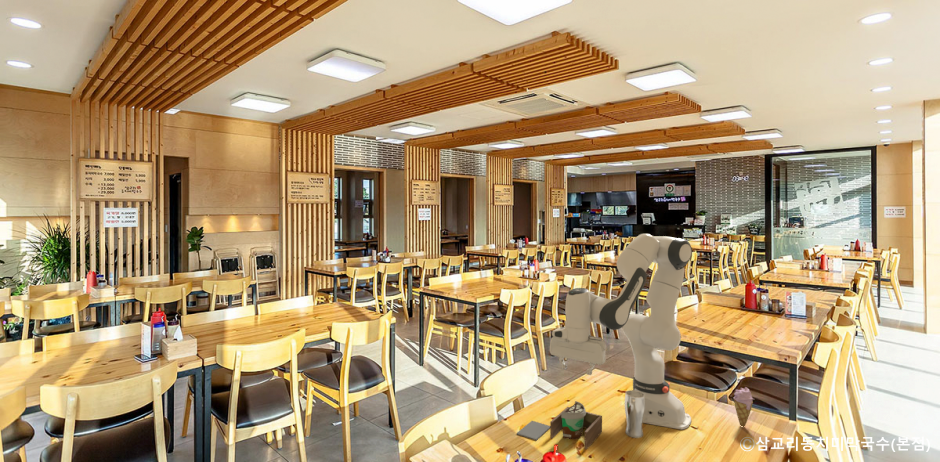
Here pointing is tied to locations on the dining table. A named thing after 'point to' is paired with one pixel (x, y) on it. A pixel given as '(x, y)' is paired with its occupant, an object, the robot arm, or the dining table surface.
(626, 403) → the beer glass
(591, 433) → the open box
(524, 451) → the dining table surface
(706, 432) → the dining table surface
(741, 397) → the ice cream cone
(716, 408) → the dining table surface
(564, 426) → the food container
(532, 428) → the rubber mat
